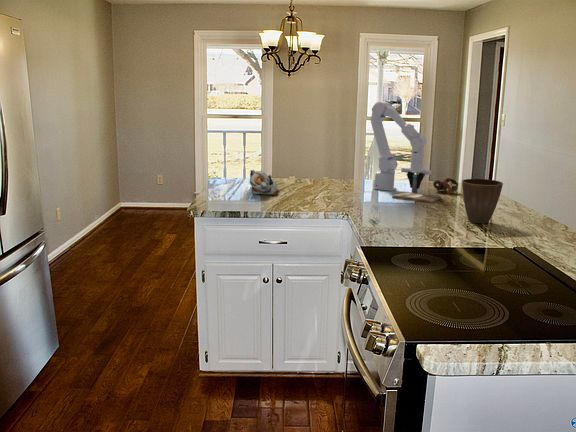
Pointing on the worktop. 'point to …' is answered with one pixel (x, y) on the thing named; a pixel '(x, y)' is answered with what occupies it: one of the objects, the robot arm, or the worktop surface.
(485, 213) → the plant pot
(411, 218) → the worktop surface
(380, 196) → the worktop surface
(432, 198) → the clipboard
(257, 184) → the grey piece
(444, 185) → the reddish-brown lumpy part
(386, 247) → the worktop surface
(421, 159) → the robot arm
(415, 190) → the marker
